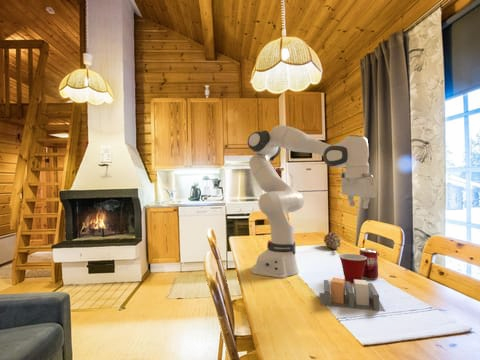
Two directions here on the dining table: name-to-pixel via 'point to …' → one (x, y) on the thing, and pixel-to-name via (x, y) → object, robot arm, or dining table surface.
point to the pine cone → (332, 240)
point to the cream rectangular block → (361, 292)
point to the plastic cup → (352, 266)
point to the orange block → (338, 290)
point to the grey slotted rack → (351, 298)
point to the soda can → (370, 263)
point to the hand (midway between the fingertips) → (358, 207)
